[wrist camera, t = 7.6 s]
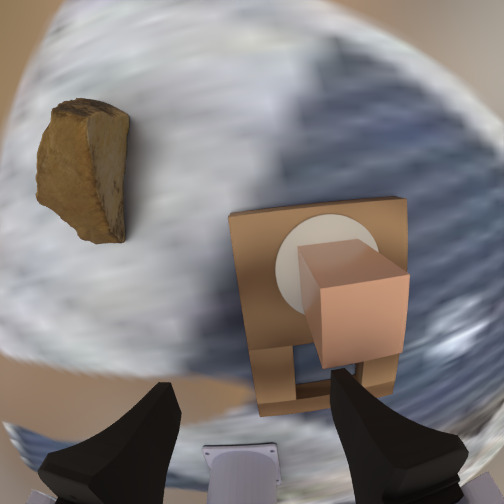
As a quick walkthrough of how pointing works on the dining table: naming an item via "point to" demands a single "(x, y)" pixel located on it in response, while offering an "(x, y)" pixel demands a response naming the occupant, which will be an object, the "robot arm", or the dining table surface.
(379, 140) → the dining table surface
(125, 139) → the rock
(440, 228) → the dining table surface
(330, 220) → the cream disc
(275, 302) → the walnut board
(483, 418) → the dining table surface
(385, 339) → the terracotta block
